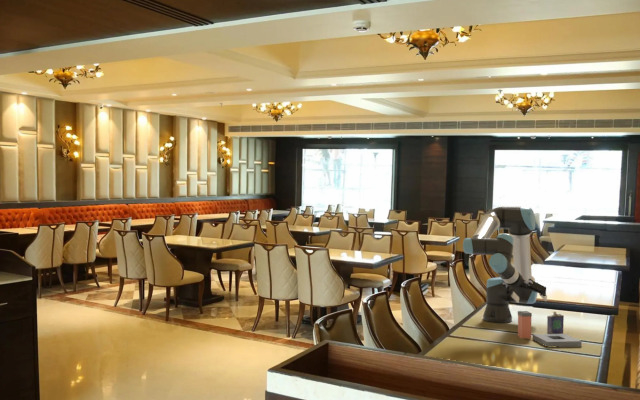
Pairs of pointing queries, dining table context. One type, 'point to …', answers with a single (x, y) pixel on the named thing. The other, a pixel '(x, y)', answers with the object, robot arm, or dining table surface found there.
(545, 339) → the socket plate
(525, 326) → the plug
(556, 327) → the flask
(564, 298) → the dining table surface
